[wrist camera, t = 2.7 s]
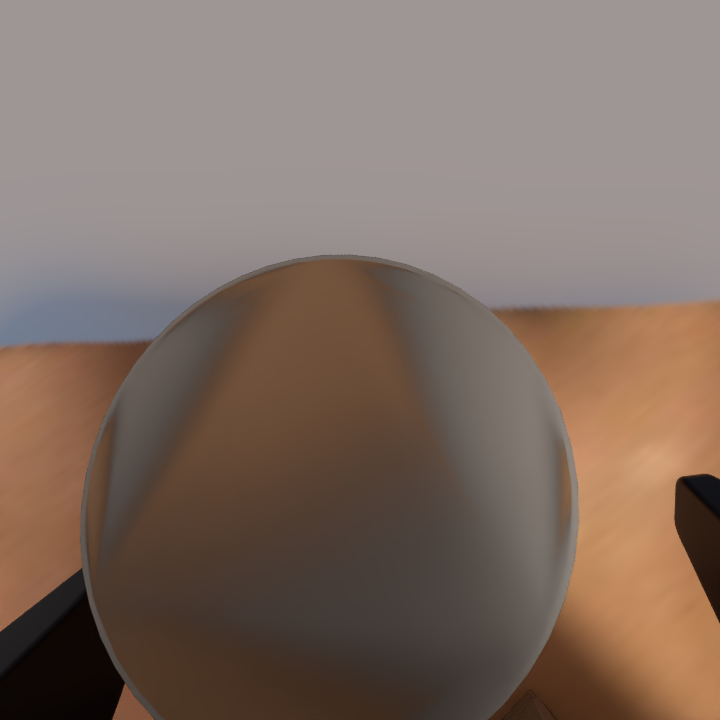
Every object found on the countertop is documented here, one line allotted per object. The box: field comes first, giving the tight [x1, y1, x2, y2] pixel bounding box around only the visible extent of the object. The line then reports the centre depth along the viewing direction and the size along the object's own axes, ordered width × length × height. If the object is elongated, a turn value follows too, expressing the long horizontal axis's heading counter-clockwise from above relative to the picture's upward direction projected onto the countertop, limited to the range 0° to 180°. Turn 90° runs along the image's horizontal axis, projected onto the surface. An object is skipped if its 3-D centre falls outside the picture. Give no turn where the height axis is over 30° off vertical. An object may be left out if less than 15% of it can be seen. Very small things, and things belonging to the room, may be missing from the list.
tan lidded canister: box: [80, 255, 579, 720], centre depth 11 cm, size 5×5×12 cm
